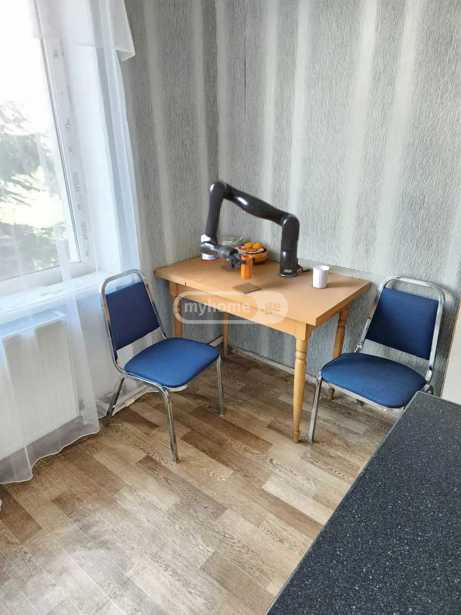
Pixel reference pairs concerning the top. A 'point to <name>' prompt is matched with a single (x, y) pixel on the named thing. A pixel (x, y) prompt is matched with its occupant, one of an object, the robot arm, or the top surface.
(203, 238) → the supplement tub
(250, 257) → the orange cylinder
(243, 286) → the cork coaster
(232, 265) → the stake
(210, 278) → the top surface
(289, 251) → the robot arm
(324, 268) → the white cup
